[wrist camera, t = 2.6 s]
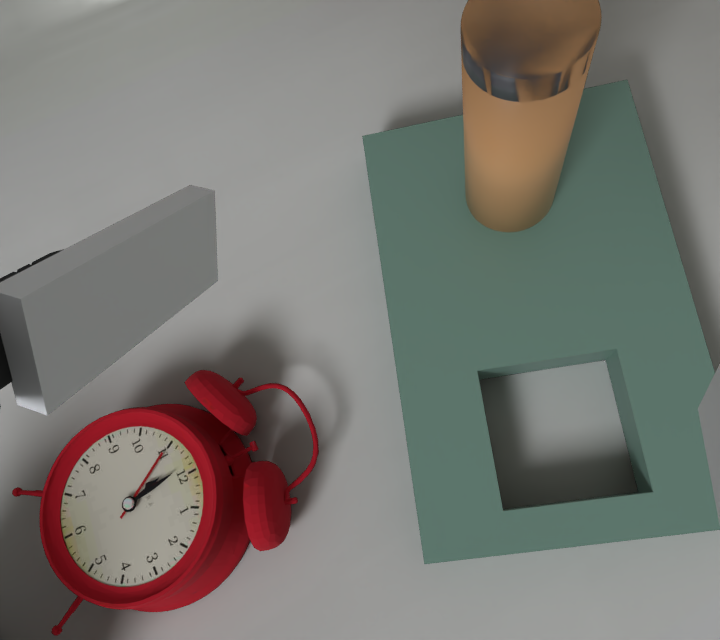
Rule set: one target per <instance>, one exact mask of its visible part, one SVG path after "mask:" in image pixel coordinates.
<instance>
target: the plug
mask: <svg viewBox="0 0 720 640" xmlns="http://www.w3.org/2000/svg"><path fill="white" fill-rule="evenodd" d="M600 26H601V9H600V4H599V2H598V0H468V2H467V4H466V6H465V8H464V11H463V14H462V19H461V56H462V91H463V127H464V162H465V196H466V202H467V206H468V208H469V210H470V212H471V214H472V215H473V216H474V218H475V219H476V220H477V221H478V222H480V223H481V224H482V225H484V226H486V227H488V228H490V229H492V230H495V231H500V232H518V231H522V230H525V229H528V228H530V227H532V226H534V225H536V224H537V223H538V222H540V221H541V220H542V219H543V218H544V217H545V216H546V214H547V213H548V212H549V210H550V208H551V206H552V203H553V200H554V196H555V192H556V189H557V185H558V181H559V178H560V174H561V170H562V167H563V163H564V159H565V156H566V152H567V148H568V145H569V141H570V137H571V134H572V130H573V126H574V122H575V119H576V115H577V111H578V108H579V104H580V100H581V97H582V93H583V89H584V86H585V82H586V78H587V75H588V71H589V67H590V64H591V60H592V56H593V52H594V49H595V45H596V41H597V38H598V34H599V30H600Z"/></svg>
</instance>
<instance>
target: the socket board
mask: <svg viewBox="0 0 720 640" xmlns="http://www.w3.org/2000/svg"><path fill="white" fill-rule="evenodd" d="M362 137H363V144H364V151H365V157H366V164H367V171H368V178H369V185H370V192H371V199H372V206H373V213H374V219H375V226H376V233H377V240H378V247H379V254H380V261H381V268H382V275H383V281H384V288H385V295H386V302H387V309H388V316H389V323H390V330H391V337H392V343H393V350H394V357H395V364H396V371H397V378H398V385H399V392H400V399H401V406H402V412H403V419H404V426H405V433H406V440H407V447H408V454H409V461H410V468H411V474H412V481H413V488H414V495H415V502H416V509H417V516H418V523H419V530H420V536H421V543H422V550H423V557H424V564H430V563H439V562H447V561H456V560H464V559H473V558H482V557H490V556H499V555H507V554H516V553H524V552H533V551H542V550H550V549H559V548H567V547H576V546H584V545H593V544H602V543H610V542H619V541H627V540H636V539H645V538H653V537H662V536H670V535H679V534H687V533H696V532H705V531H713V530H720V524H719V519H718V514H717V508H716V503H715V498H714V492H713V487H712V482H711V476H710V471H709V466H708V460H707V455H706V450H705V444H704V439H703V434H702V428H701V423H700V418H699V412H698V407H699V405H700V403H701V401H702V399H703V397H704V395H705V393H706V391H707V389H708V387H709V385H710V382H711V380H712V378H713V376H714V374H715V371H714V368H713V365H712V361H711V358H710V355H709V351H708V348H707V345H706V341H705V338H704V335H703V331H702V328H701V325H700V321H699V318H698V315H697V311H696V308H695V305H694V301H693V298H692V295H691V291H690V288H689V284H688V281H687V278H686V274H685V271H684V268H683V264H682V261H681V258H680V254H679V251H678V248H677V244H676V241H675V238H674V234H673V231H672V228H671V224H670V221H669V218H668V214H667V211H666V208H665V204H664V201H663V198H662V194H661V191H660V187H659V184H658V181H657V177H656V174H655V171H654V167H653V164H652V161H651V157H650V154H649V151H648V147H647V144H646V141H645V137H644V134H643V131H642V127H641V124H640V121H639V117H638V114H637V111H636V107H635V104H634V101H633V97H632V94H631V90H630V87H629V84H628V80H623V81H619V82H614V83H609V84H605V85H600V86H595V87H591V88H586V89H583V93H582V97H581V100H580V104H579V108H578V111H577V115H576V119H575V122H574V126H573V130H572V134H571V137H570V141H569V145H568V148H567V152H566V156H565V159H564V163H563V167H562V170H561V174H560V178H559V181H558V185H557V189H556V192H555V196H554V200H553V203H552V206H551V208H550V210H549V212H548V213H547V214H546V216H545V217H544V218H543V219H542V220H541V221H540V222H538V223H537V224H536V225H534V226H532V227H530V228H528V229H525V230H522V231H518V232H500V231H495V230H492V229H490V228H488V227H486V226H484V225H482V224H481V223H480V222H478V221H477V220H476V219H475V218H474V216H473V215H472V214H471V212H470V210H469V208H468V206H467V202H466V196H465V162H464V127H463V115H459V116H454V117H450V118H445V119H440V120H436V121H431V122H426V123H422V124H417V125H412V126H407V127H403V128H398V129H393V130H389V131H384V132H379V133H375V134H370V135H365V136H362ZM602 360H606V363H607V367H608V371H609V375H610V379H611V383H612V387H613V391H614V395H615V399H616V403H617V407H618V412H619V416H620V420H621V424H622V428H623V432H624V436H625V440H626V444H627V448H628V452H629V456H630V460H631V464H632V468H633V472H634V476H635V480H636V484H637V488H638V492H636V493H628V494H621V495H613V496H605V497H597V498H589V499H581V500H573V501H565V502H557V503H549V504H541V505H534V506H526V507H518V508H510V509H503V508H502V502H501V497H500V491H499V486H498V480H497V475H496V470H495V464H494V459H493V453H492V448H491V442H490V437H489V432H488V426H487V421H486V415H485V410H484V404H483V399H482V394H481V388H480V383H479V379H486V378H492V377H499V376H505V375H512V374H518V373H525V372H531V371H537V370H544V369H550V368H557V367H563V366H570V365H576V364H583V363H589V362H596V361H602Z"/></svg>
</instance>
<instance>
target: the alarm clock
mask: <svg viewBox="0 0 720 640" xmlns="http://www.w3.org/2000/svg"><path fill="white" fill-rule="evenodd" d="M243 382H244V380H243V379H242V378H239V379H238V380H237V381H236V382H235V383H234V384H232V383H231V382H229V381H228V380H226V379H225V378H223V377H222V376H220V375H219V374H217V373H214V372H212V371H207V370H200V371H197V372H195V373H194V374H192V375H191V376H190V377H189V378H188V379H187V380H186V381H185V384H186V386H187V388H188V389H189V391H190V392H191V393H192V394H193V395H194V396H195V398H196V399H197V400H198V401H199V402H200V403H201V404H202V405H203V406H204V407H205V408H206V409H207V410H208V411H209V412H211V413H212V414H213V415H212V414H210V413H208V412H206V411H203V410H201V409H198V408H195V407H191V406H186V405H181V404H161V405H154V406H150V407H137V408H129V409H123V410H120V411H117V412H114V413H111V414H108V415H106V416H103V417H101V418H99V419H97V420H96V421H94V422H92V423H90V424H89V425H87V426H86V427H85V428H83V429H82V430H81V431H80V432H79V433H77V434H76V435H75V436H74V437H73V438H72V439H71V440H70V442H69V443H68V444H67V445H66V446H65V447H64V449H63V450H62V451H61V453H60V454H59V456H58V457H57V459H56V461H55V463H54V464H53V466H52V468H51V470H50V473H49V475H48V477H47V480H46V483H45V486H44V489H43V491H41V490H36V491H27V490H22V489H21V488H18V487H17V488H15V489H14V490H13V491H12V494H13V495H14V496H20V495H31V496H39V497H42V499H41V505H40V533H41V540H42V544H43V548H44V551H45V554H46V557H47V559H48V561H49V563H50V566H51V567H52V569H53V571H54V572H55V574H56V575H57V577H58V578H59V579H60V580H61V582H62V583H63V584H64V585H65V586H66V587H67V588H68V589H69V590H71V591H72V592H73V593H74V594H76V595H77V596H78V597H77V598H76V599H75V601H74V602H73V604H72V605H71V606H70V608H69V609H68V611H67V613H66V614H65V616H64V617H63V618H62V620H61V621H60V623H59V624H58V625H55V626H54V627H53V628H52V634H53V635H56V636H57V635H59V634H60V633H61V632H62V626H63V625H64V624H65V622H66V621H67V620H68V618H69V617H70V616H71V614H72V613H73V612H74V611H75V610H76V609H77V607H78V606H79V605H80V603H81V602H82V601H83V599H84V600H86V601H88V602H91V603H93V604H96V605H99V606H102V607H106V608H111V609H133V610H138V611H145V612H162V611H169V610H174V609H177V608H180V607H184V606H186V605H189V604H191V603H193V602H196V601H198V600H199V599H201V598H203V597H205V596H206V595H208V594H209V593H210V592H212V591H213V590H215V589H216V588H217V587H218V586H219V585H220V584H221V583H222V582H223V581H224V580H225V579H226V578H227V577H228V576H229V575H230V574H231V573H232V571H233V570H234V569H235V567H236V566H237V564H238V563H239V561H240V560H241V558H242V556H243V554H244V552H245V551H246V549H247V546H248V544H249V541H251V543H252V545H253V547H254V548H256V549H257V550H259V551H264V550H270V549H273V548H275V547H277V546H279V545H280V544H281V543H282V542H283V541H284V540H285V538H286V536H287V534H288V531H289V527H290V520H291V504H296V503H297V502H298V499H297V498H296V497H294V498H290V494H289V492H290V490H292V489H293V488H294V487H296V486H297V485H298V484H300V483H301V482H302V481H303V480H304V479H305V478H306V477H307V476H308V475H309V473H310V472H311V471H312V469H313V468H314V466H315V464H316V460H317V456H318V452H319V449H318V437H317V433H316V429H315V426H314V424H313V421H312V419H311V416H310V414H309V412H308V410H307V409H306V407H305V405H304V404H303V402H302V401H301V399H300V398H299V397H298V396H297V395H296V394H295V392H294V391H292V390H291V389H289V388H288V387H286V386H284V385H281V384H276V383H269V384H264V385H261V386H258V387H255V388H252V389H250V390H247V391H241V390H239V389H238V387H239V386H240V385H241V384H242V383H243ZM269 388H277V389H281V390H283V391H285V392H287V393H288V394H289V395H290V396H291V397H292V398H293V399H294V400H295V401H296V403H297V404H298V405H299V407H300V408H301V410H302V412H303V414H304V415H305V417H306V420H307V422H308V424H309V427H310V430H311V434H312V438H313V456H312V459H311V462H310V464H309V465H308V467H307V469H306V470H305V471H304V472H303V473H302V474H301V475H300V477H298V478H297V479H296V480H295V481H294V482H293V483H292V484H290V485H289V486H288V484H287V481H286V479H285V476H284V474H283V472H282V471H281V469H280V468H279V467H278V466H277V465H276V464H273V463H271V462H269V461H258V462H251V459H250V456H249V454H248V452H249V451H251V450H252V451H253V452H255V451H257V450H258V447H257V445H256V442H255V441H252V442H250V443H249V444H250V447H248V448H246V449H245V447H244V445H243V443H242V442H241V440H240V438H239V437H238V436H237V435H236V434H235V433H234V432H233V431H235V432H237V433H239V434H241V435H245V436H247V435H248V434H249V433H250V432H251V431H252V429H253V428H254V426H255V425H256V420H257V416H256V411H255V409H254V407H253V406H252V404H251V403H250V402H249V400H248V399H247V398H246V397H245V396H247V395H249V394H252V393H255V392H258V391H261V390H264V389H269Z"/></svg>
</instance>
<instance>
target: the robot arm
mask: <svg viewBox="0 0 720 640" xmlns="http://www.w3.org/2000/svg"><path fill="white" fill-rule="evenodd" d="M217 281H218V269H217V241H216V212H215V191H214V190H210V189H206V188H201V187H197V186H192V185H189V186H187V187H185V188H183V189H181V190H179V191H177V192H175V193H173V194H171V195H170V196H168V197H166V198H164V199H162V200H160V201H158V202H156V203H154V204H152V205H150V206H148V207H146V208H144V209H142V210H140V211H138V212H136V213H134V214H133V215H131V216H129V217H127V218H125V219H123V220H121V221H119V222H117V223H115V224H113V225H111V226H109V227H107V228H105V229H103V230H101V231H99V232H97V233H96V234H94V235H92V236H90V237H88V238H86V239H84V240H82V241H80V242H78V243H76V244H74V245H72V246H70V247H68V248H66V249H64V250H60V251H56V252H53V253H50V254H48V255H46V256H44V257H42V258H40V259H38V260H36V261H34V262H32V265H30V264H28V265H26V266H24V267H22V268H20V269H18V271H17V272H12V273H10V274H8V275H6V276H4V277H2V278H0V389H2V388H3V387H5V386H6V385H7V384H9V383H10V382H12V386H13V390H14V394H15V397H16V401H17V405H19V406H22V407H25V408H28V409H30V410H33V411H36V412H39V413H42V414H45V415H49V414H50V413H51V412H52V411H54V410H55V409H56V408H57V407H59V406H60V405H61V404H63V403H64V402H65V401H66V400H68V399H69V398H70V397H71V396H73V395H74V394H75V393H76V392H78V391H79V390H80V389H81V388H83V387H84V386H85V385H87V384H88V383H89V382H90V381H92V380H93V379H94V378H95V377H97V376H98V375H99V374H100V373H102V372H103V371H104V370H106V369H107V368H108V367H109V366H111V365H112V364H113V363H114V362H116V361H117V360H118V359H119V358H121V357H122V356H123V355H125V354H126V353H127V352H128V351H130V350H131V349H132V348H133V347H135V346H136V345H137V344H138V343H140V342H141V341H142V340H143V339H145V338H146V337H147V336H149V335H150V334H151V333H152V332H154V331H155V330H156V329H157V328H159V327H160V326H161V325H162V324H164V323H165V322H166V321H168V320H169V319H170V318H171V317H173V316H174V315H175V314H176V313H178V312H179V311H180V310H181V309H183V308H184V307H185V306H187V305H188V304H189V303H190V302H192V301H193V300H194V299H195V298H197V297H198V296H199V295H200V294H202V293H203V292H204V291H205V290H207V289H208V288H209V287H211V286H212V285H213V284H214V283H216V282H217ZM0 407H1V406H0ZM698 412H699V418H700V423H701V428H702V434H703V439H704V444H705V450H706V455H707V460H708V466H709V471H710V476H711V482H712V487H713V492H714V498H715V503H716V508H717V514H718V519H719V524H720V364H719V366H718V368H717V370H716V372H715V374H714V376H713V378H712V380H711V382H710V385H709V387H708V389H707V391H706V393H705V395H704V397H703V399H702V401H701V403H700V405H699V407H698Z"/></svg>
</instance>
